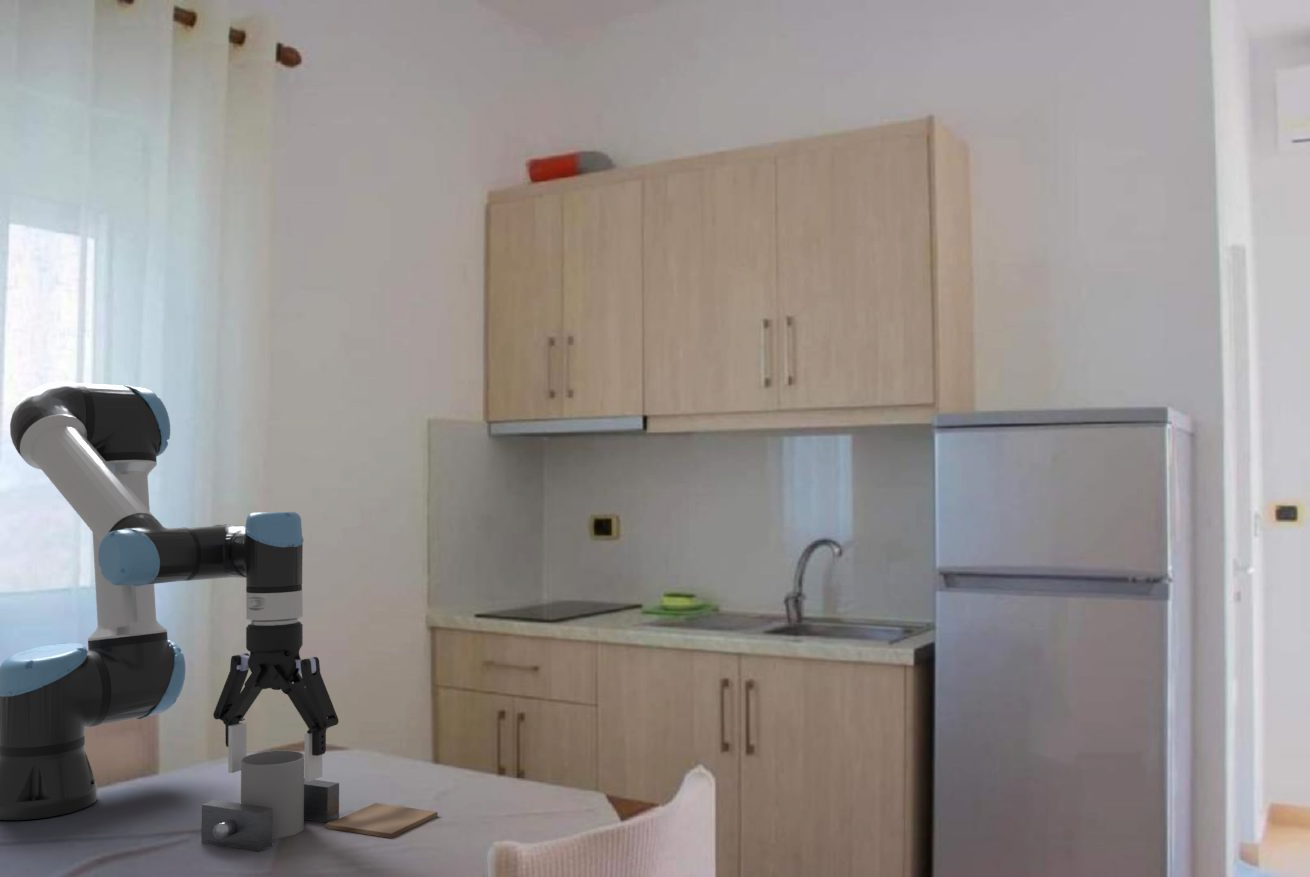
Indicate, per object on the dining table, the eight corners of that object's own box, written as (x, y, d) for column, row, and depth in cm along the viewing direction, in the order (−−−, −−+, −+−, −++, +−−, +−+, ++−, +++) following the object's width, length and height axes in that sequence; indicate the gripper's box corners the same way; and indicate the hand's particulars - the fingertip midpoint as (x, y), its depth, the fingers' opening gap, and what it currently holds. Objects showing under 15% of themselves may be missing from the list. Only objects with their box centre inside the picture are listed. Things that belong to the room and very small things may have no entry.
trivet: (326, 828, 158) (326, 824, 158) (375, 807, 168) (375, 803, 168) (390, 838, 153) (390, 833, 153) (437, 815, 164) (437, 811, 164)
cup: (283, 841, 152) (284, 766, 153) (228, 837, 154) (229, 763, 154) (314, 822, 161) (315, 752, 161) (262, 819, 162) (262, 749, 163)
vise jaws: (189, 846, 150) (190, 808, 150) (294, 806, 168) (294, 772, 169) (247, 856, 146) (247, 817, 146) (347, 814, 164) (348, 779, 165)
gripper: (187, 622, 160) (186, 773, 159) (327, 627, 150) (328, 789, 149) (226, 616, 167) (226, 761, 166) (363, 621, 157) (364, 775, 156)
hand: (274, 775), depth 157 cm, fingers open, 13 cm apart
